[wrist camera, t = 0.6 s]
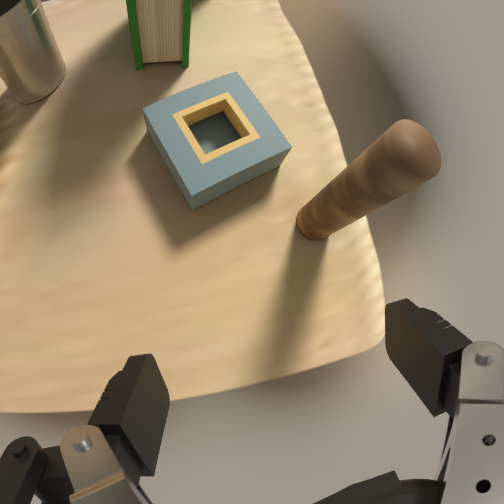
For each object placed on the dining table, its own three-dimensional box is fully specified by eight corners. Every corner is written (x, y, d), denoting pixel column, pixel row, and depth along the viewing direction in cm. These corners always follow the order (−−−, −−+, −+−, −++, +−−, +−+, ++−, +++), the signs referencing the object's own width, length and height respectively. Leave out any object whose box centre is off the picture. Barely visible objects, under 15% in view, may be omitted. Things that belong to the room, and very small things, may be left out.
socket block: (147, 130, 36) (142, 108, 31) (231, 95, 39) (236, 71, 34) (192, 210, 35) (191, 195, 30) (279, 165, 38) (291, 147, 33)
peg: (289, 214, 37) (378, 129, 18) (318, 198, 38) (415, 113, 19) (309, 247, 37) (416, 188, 18) (337, 229, 38) (449, 165, 19)
